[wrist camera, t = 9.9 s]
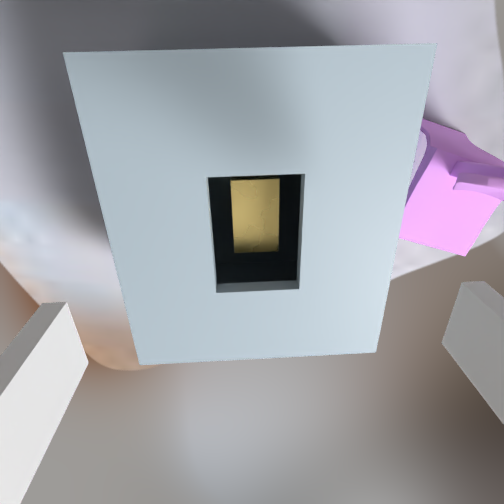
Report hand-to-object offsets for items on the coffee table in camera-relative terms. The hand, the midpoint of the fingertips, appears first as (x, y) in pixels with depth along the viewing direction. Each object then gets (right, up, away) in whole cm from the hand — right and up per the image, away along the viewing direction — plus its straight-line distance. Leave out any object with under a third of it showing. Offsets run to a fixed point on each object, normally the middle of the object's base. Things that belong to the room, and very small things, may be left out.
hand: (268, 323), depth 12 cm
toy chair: (+13, +10, +18) cm, 24 cm away
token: (-1, +8, +17) cm, 19 cm away
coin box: (-1, +9, +18) cm, 20 cm away
